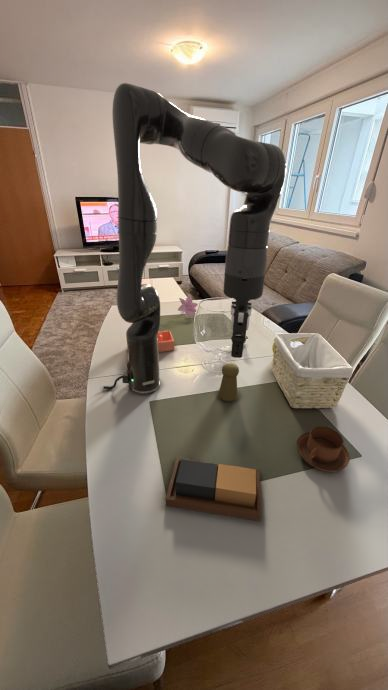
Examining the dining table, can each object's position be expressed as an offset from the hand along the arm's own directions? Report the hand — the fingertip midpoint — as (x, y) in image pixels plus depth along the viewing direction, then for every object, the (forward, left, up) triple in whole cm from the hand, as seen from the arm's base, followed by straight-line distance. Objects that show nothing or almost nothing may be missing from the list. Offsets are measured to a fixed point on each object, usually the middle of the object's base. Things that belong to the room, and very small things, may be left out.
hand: (237, 346), depth 63 cm
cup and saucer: (+23, 0, -28) cm, 36 cm away
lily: (-25, +82, -28) cm, 90 cm away
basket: (+23, +28, -28) cm, 46 cm away
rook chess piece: (+2, +55, -28) cm, 62 cm away
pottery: (-34, +46, -28) cm, 64 cm away
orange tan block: (+2, -14, -27) cm, 31 cm away
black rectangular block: (-6, -14, -27) cm, 31 cm away
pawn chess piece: (-1, +20, -28) cm, 35 cm away
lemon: (+17, +48, -28) cm, 58 cm away
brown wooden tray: (-2, -14, -28) cm, 31 cm away
